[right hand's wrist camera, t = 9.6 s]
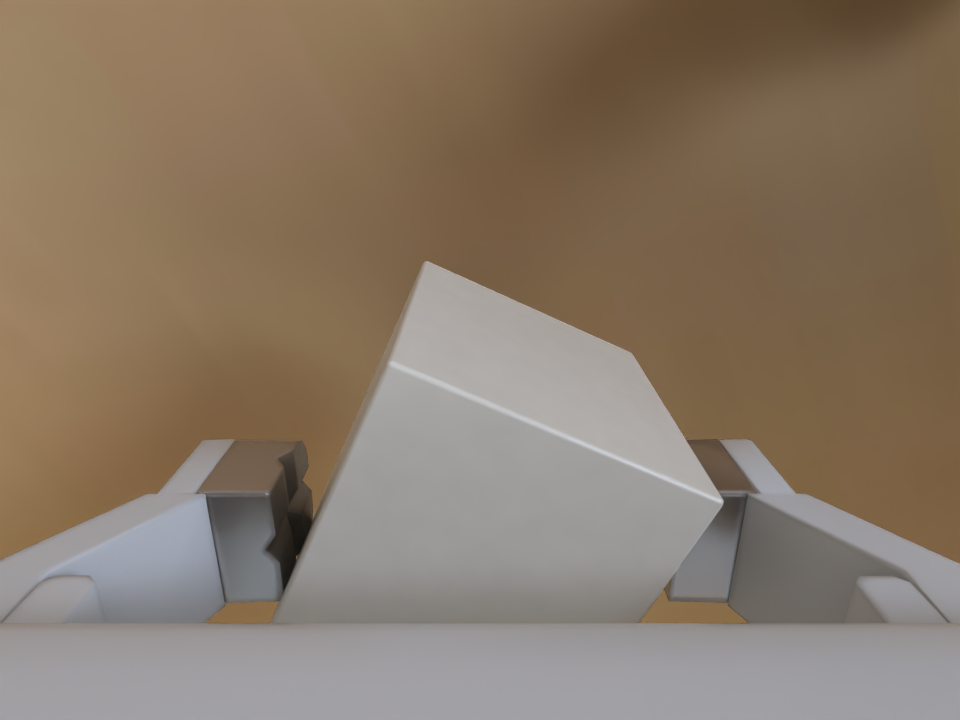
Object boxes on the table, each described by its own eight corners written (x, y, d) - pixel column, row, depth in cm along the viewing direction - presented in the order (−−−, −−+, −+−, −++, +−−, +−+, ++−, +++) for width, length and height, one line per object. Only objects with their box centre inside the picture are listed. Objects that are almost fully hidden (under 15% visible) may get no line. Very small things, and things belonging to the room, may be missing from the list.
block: (330, 475, 13) (248, 674, 8) (424, 258, 11) (387, 360, 7) (518, 547, 13) (538, 768, 9) (633, 353, 12) (727, 502, 7)
